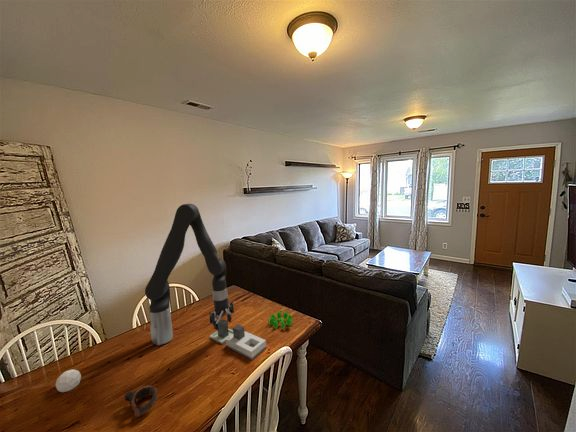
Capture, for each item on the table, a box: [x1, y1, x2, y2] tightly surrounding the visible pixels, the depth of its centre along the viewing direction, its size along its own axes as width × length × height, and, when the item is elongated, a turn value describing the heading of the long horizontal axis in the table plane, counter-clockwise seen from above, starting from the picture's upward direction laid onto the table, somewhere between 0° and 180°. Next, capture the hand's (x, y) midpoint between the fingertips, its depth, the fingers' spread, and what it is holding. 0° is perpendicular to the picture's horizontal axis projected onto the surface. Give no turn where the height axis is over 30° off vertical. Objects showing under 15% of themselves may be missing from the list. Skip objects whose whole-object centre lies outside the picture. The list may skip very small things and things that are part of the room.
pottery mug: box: [124, 385, 159, 418], centre depth 90 cm, size 12×9×8 cm
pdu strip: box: [225, 324, 267, 361], centre depth 121 cm, size 10×18×9 cm, turn 55°
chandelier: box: [267, 310, 294, 329], centre depth 142 cm, size 15×15×7 cm
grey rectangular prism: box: [217, 318, 229, 338], centre depth 131 cm, size 4×4×8 cm
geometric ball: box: [55, 368, 82, 393], centre depth 99 cm, size 8×8×8 cm
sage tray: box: [209, 328, 233, 345], centre depth 132 cm, size 10×10×1 cm
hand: (223, 325), depth 131 cm, fingers open, 8 cm apart
